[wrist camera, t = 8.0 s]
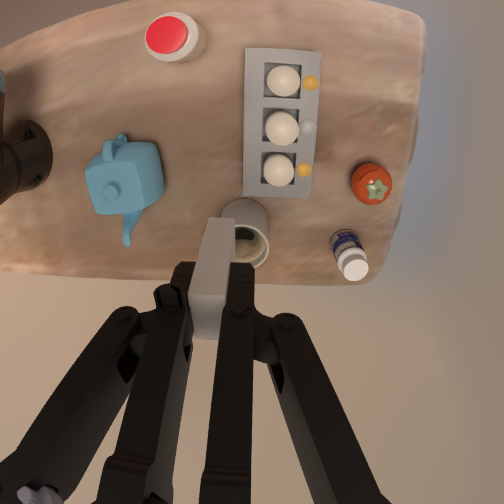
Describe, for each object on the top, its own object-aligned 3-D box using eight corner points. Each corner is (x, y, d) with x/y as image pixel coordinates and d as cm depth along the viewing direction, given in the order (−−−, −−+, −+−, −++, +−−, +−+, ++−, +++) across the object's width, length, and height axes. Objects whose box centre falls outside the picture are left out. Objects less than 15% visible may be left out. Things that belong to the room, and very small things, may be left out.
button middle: (264, 138, 45) (265, 145, 42) (265, 109, 43) (266, 113, 39) (294, 140, 45) (297, 146, 42) (296, 111, 43) (300, 115, 39)
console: (244, 185, 55) (242, 196, 50) (246, 49, 41) (245, 47, 37) (305, 187, 55) (309, 199, 50) (315, 53, 41) (321, 52, 37)
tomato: (373, 150, 50) (389, 164, 43) (389, 182, 53) (406, 200, 47) (339, 170, 53) (351, 187, 46) (357, 201, 56) (370, 222, 49)
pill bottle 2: (359, 247, 62) (373, 277, 53) (334, 256, 63) (344, 287, 55) (353, 224, 59) (368, 253, 50) (326, 234, 60) (337, 264, 52)
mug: (274, 207, 57) (277, 234, 49) (256, 247, 62) (256, 279, 54) (218, 188, 55) (210, 213, 47) (204, 231, 60) (195, 261, 52)
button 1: (262, 177, 51) (263, 185, 47) (263, 150, 48) (264, 157, 45) (290, 178, 51) (293, 187, 47) (292, 151, 48) (295, 158, 45)
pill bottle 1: (173, 70, 43) (152, 71, 34) (153, 33, 39) (128, 27, 30) (215, 49, 41) (204, 44, 32) (196, 12, 37) (180, -2, 28)
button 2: (265, 93, 43) (266, 95, 39) (266, 65, 40) (267, 64, 37) (296, 95, 43) (299, 97, 39) (297, 67, 40) (300, 67, 37)
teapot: (119, 221, 59) (96, 252, 49) (97, 136, 49) (65, 154, 39) (176, 215, 58) (160, 248, 49) (158, 123, 48) (134, 138, 39)
